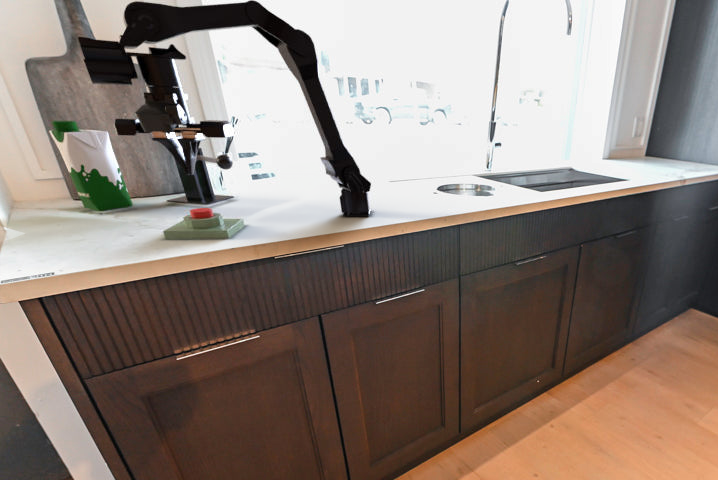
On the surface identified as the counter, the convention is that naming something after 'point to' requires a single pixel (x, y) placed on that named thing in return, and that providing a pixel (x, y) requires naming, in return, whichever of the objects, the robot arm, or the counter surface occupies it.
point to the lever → (218, 161)
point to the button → (201, 213)
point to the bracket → (197, 185)
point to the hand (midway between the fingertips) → (190, 174)
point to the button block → (204, 228)
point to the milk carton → (91, 166)
